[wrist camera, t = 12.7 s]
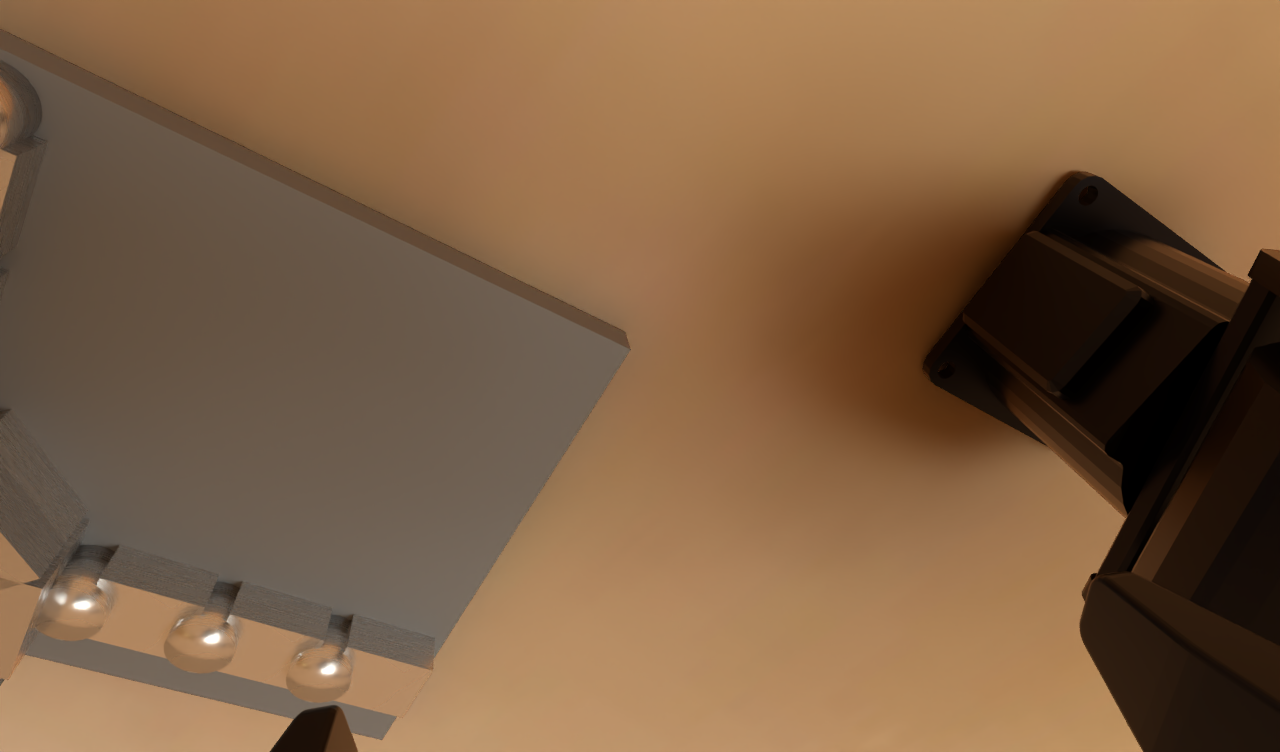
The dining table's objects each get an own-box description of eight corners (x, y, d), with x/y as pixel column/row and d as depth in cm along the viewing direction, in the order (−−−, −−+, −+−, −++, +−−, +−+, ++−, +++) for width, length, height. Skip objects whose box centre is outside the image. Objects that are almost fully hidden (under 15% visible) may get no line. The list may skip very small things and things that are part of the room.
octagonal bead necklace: (616, 350, 20) (630, 400, 18) (365, 748, 25) (353, 822, 23) (-268, -67, 13) (-408, -68, 11) (-356, 579, 19) (-464, 660, 17)
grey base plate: (625, 332, 21) (630, 349, 20) (385, 712, 26) (382, 739, 25) (-185, -62, 14) (-229, -62, 14) (-289, 542, 20) (-326, 570, 19)
